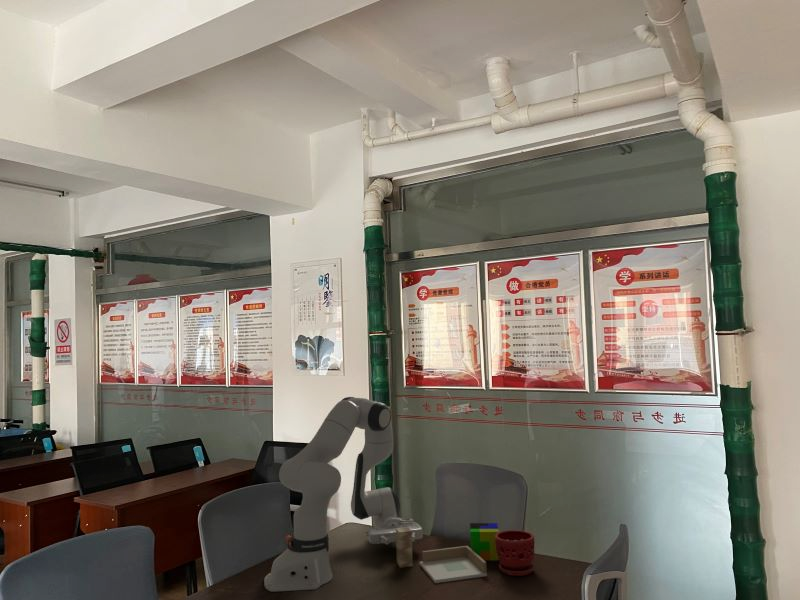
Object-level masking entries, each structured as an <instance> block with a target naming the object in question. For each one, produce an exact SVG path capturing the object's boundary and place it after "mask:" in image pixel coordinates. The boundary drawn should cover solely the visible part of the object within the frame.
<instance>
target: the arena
mask: <svg viewBox="0 0 800 600" xmlns="http://www.w3.org/2000/svg"><path fill="white" fill-rule="evenodd" d="M421 553H422V555H421V558H422V561H419V566H420V567H421V568H422V569H423V571H424V572H425V573H426V574H427V575H428V576H429V578H430V579H431V580H432V582H433V583H434V584H440V583H446V582H454V581H461V580H467V579H469V580H470V579H476V578H483V577H487V576H488V575H487V574H488V573H487V572H488V570H487V562H486V560H483V559H482V558H481V557H480V556H479V555H478V554H476V553H475V552H474V551H473V550H472V549H471V546H470V547H469V545H462V546H455V547H454V546H453V547H444V548H438V549H437V548H436V549H430V550H422V552H421Z"/></svg>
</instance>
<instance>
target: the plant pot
mask: <svg viewBox="0 0 800 600" xmlns="http://www.w3.org/2000/svg"><path fill="white" fill-rule="evenodd" d="M495 545H496V551H497V555H498V558H499V560H500V561H499V565H498V568H499V569H500V571H501V572H502V573H504V574H505V575H509V576H515V577H516V576H518V577H519V576H521V577H522V576H528V575H529V574H531V573H532V572H533V571H534V570H535V565H534V564H533V560H534V557H535V536H534V534H533V533H531V532H529V531H525V530H513V529H511V530H503V531H499V533H497V534H496V535H495Z"/></svg>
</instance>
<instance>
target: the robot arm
mask: <svg viewBox="0 0 800 600" xmlns="http://www.w3.org/2000/svg"><path fill="white" fill-rule="evenodd" d="M391 419H392V414H391V409H390V408H389V406H388V405H387V404H385V403H383V402H380V401H374V400H371V399H368V398H362V397H354V396H347V397H343V398H342V399H341V400H339V401H338V402H337V403H336V404H335V405H334V406H333V407H332V409H331V410H330V411H329V412H328V414H327V416H326V417H325V419H324V420H323V422H322V424H321V425H320V427H319V429H318V430H317V432H316V433H315V435H314V436H313V437H312V439H311V440H310V442H309V443H307V445H305V447H304V448H302V449H301V450H300V451H299V452H298V453H297V454H295V455H294V456H293V457H291V458H289V459H287V460H285V461H284V462H283V463H282V465H281V466H280V468H279V471H278V479H279V481H280V484H281V485H283V486H285V487H286V488H287V489H289V490H291V491H293V492H298V493H301V494H302V500H301V503H300V506H298V508H296V509H295V511H294V513H293V536H291V535H289V534H288V535H286V537H285V542H286V543H287V549H285V550H284V551H283V552H282V553H280V554H279V556H277V557H276V558H275V559H274V560H273V561H272V564H271V565H272V566H271V569H270V572H269V573H268V574H267V575H266V576H265V577H264V579H263V580H264V581H263V582H264V583H263V585H264V588H265V589H266V590H267V591H269V592H273V593H275V592H290V591H307V590H308V591H309V590H317V589H319V588H320V587H321V586H323V585H324V584H328V583H329V582H330V581H332V579H333V577H334V576H333V573H332V569H331V565H330V558H329V551H330V550H329V549H330V538H329V534H328V508H329V505H330V501H331V500H332V498H333V496H334V495H335V494H337V493H338V491H339V490H340V487H341V483H342V475H341V472H340V471H339V469H338V468H337V467H335V466H333V465H332V464H329V463H330V462H331V461H333V460H335V459H337V458H338V457H339V456H341V454H343V451H344V449H345V448H346V446H347V444H348V442H349V440H350V438H351V437H352V435H353V433H354V431H355V430H356V428H358V429H361V430H364V445H363V448H362V451H361V452H359V453H358V454H357V457H356V463H355V470H354V480H353V487H352V488H353V489H352V494H351V500H350V510H351V513H352V515H353V516H354V517H355V518H357V519H358V520H364V519H369V518H372V522H373V525H374V528H369V529H368V531H366V532H365V535H366V537H368V542H369V544H370V545H371V544H372V545H377V544H378V545H379V544H385V545H391V543H396V528H405V527H408V528H409V529H410V530H411V531H412V543H414V542H416V540H422V538H423V537H424V532H423V531H424V529H423V527H422V526H421V525H420V524H419V523H418V522H414V519H413V518H404V517H402V518H401V517H398V516H399V512H400V509H401V508H400V500H399V496H398V494H397V493H396V491H395V490H394V489H393V488H392V487H390V486H388V487H386V486H385V487H381V488H377V489H372V490H371V489H370V490H367V491H366V481H367V475H368V473H369V472H370V470H372V469H373V468H374V467H377V466H378V465H379V464H381V463H383V462H385V461H386V460H387V459H388V458H389V457H390V456H391V455H392V453H393V450H394V444H395V443H394V431H393V425H392V421H391Z"/></svg>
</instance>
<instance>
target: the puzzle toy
mask: <svg viewBox="0 0 800 600" xmlns="http://www.w3.org/2000/svg"><path fill="white" fill-rule="evenodd" d="M469 529H470V530H469V532H470V533H469V535H470V537H469V538H470V548H471V549H472V550H473V551H474V552H475V553H476V554H478V555H479V556H480V557H481V558H482V559H483V560H484V561H498V559H499V558H498V555H497V551H496V545H495V535H496V534H497V533H499V532H500V530H499V526H498V523H497V522H494V523H493V522H490V523H489V522H487V523H486V522H485V523H484V522H483V523H481V522H470V523H469Z"/></svg>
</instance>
